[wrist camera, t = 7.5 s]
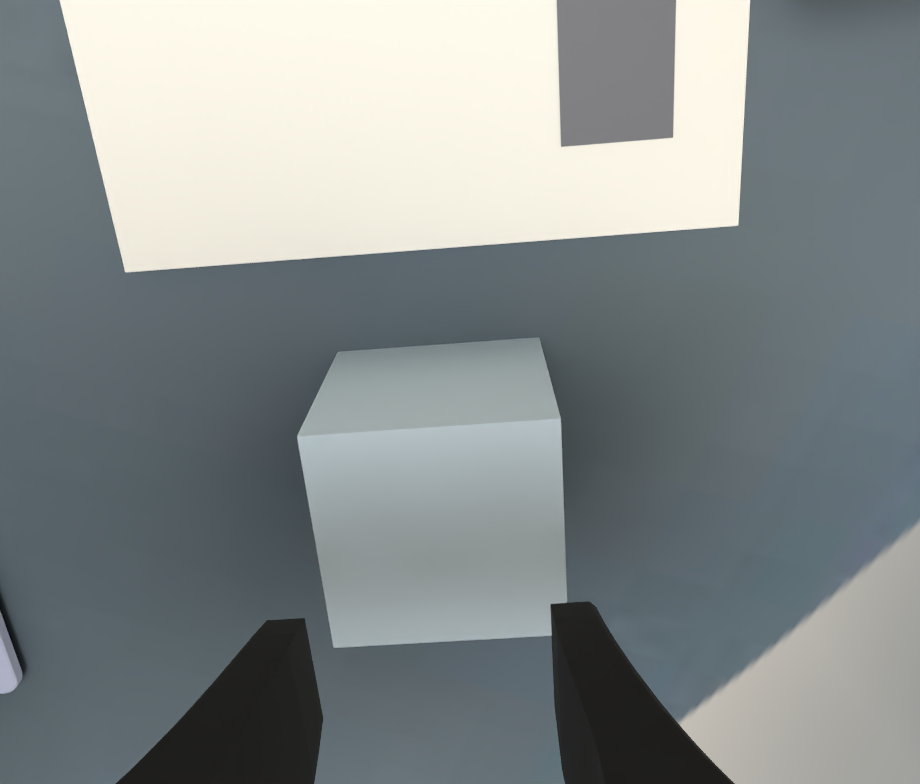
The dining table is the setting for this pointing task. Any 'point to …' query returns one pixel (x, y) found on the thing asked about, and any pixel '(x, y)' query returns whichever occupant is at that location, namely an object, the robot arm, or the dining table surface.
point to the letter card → (407, 122)
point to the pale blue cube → (437, 493)
